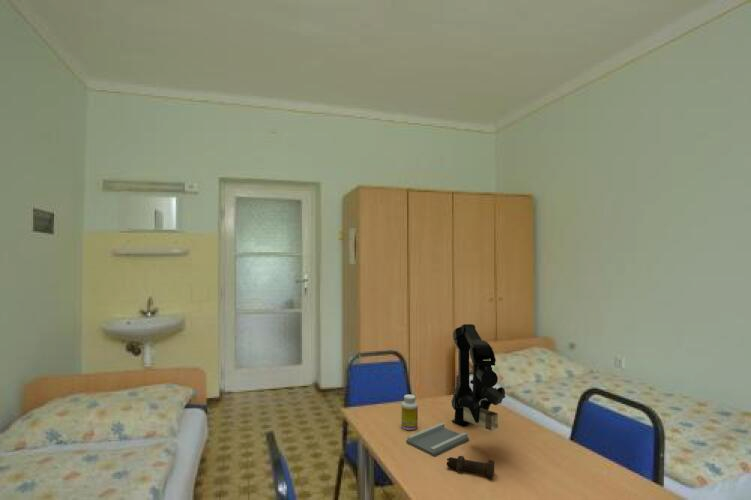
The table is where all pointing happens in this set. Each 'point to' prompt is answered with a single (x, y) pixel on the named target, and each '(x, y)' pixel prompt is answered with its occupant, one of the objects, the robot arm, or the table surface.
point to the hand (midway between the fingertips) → (480, 421)
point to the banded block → (483, 418)
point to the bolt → (472, 466)
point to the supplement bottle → (409, 413)
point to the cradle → (436, 439)
